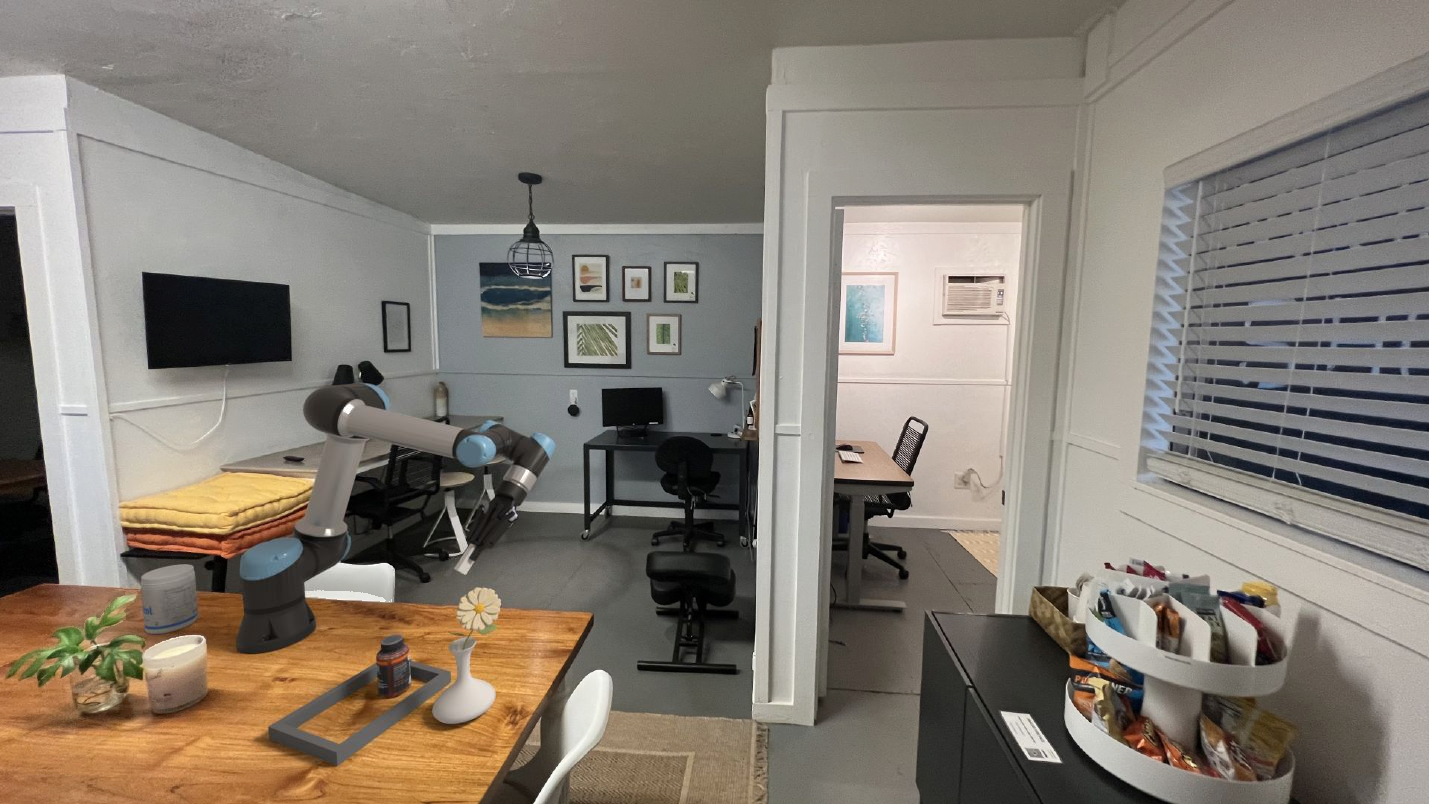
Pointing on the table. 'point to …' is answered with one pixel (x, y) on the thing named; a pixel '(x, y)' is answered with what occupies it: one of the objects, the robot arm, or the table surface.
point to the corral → (338, 753)
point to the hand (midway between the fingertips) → (459, 571)
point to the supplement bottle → (393, 667)
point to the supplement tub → (169, 598)
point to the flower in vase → (468, 692)
